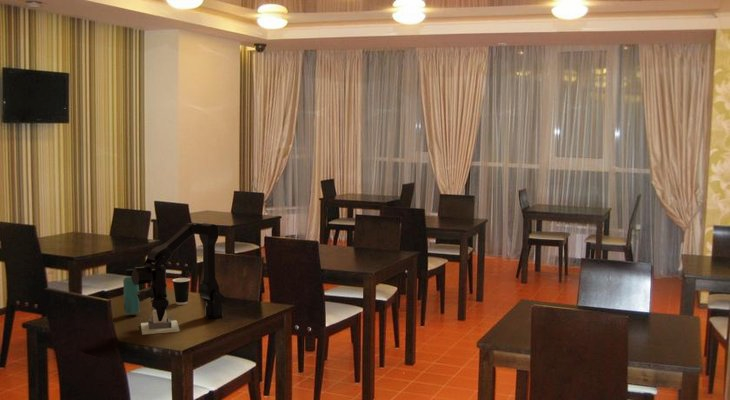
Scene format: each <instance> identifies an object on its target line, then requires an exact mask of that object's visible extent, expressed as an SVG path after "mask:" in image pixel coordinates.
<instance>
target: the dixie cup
mask: <svg viewBox="0 0 730 400" xmlns="http://www.w3.org/2000/svg"><path fill="white" fill-rule="evenodd" d="M171 281H172V284H173V285H172V286H173V293H174V297H175V303H176V305H178V306H179V305H180V306H181V305H187V304H188V301H189V294H190V293H189V292H190V281H191V278H188V277H178V278H173V279H172V280H171Z"/></svg>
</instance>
